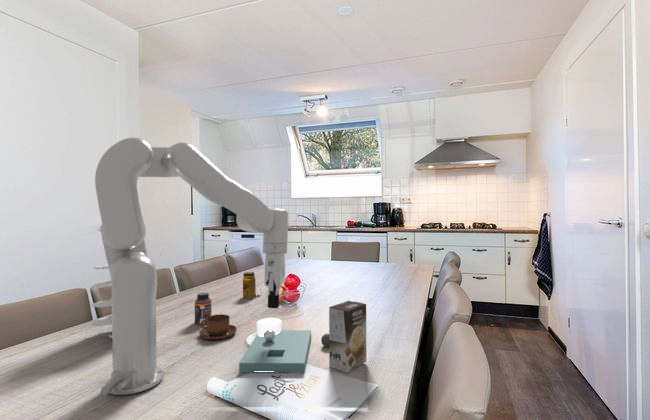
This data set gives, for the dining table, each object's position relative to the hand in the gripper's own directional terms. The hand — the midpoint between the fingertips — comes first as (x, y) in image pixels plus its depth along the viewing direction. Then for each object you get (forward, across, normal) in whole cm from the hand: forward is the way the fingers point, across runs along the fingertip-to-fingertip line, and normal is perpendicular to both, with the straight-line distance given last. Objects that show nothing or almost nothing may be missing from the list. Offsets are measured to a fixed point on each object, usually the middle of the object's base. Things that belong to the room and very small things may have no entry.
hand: (273, 307), depth 106 cm
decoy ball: (+9, 0, -17) cm, 20 cm away
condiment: (+11, +59, +23) cm, 65 cm away
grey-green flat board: (+12, -5, -3) cm, 13 cm away
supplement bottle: (+13, +20, +30) cm, 38 cm away
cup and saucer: (+13, +9, +20) cm, 25 cm away
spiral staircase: (+14, +8, +53) cm, 56 cm away
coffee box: (+12, -12, -23) cm, 29 cm away
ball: (+8, -3, 0) cm, 8 cm away
